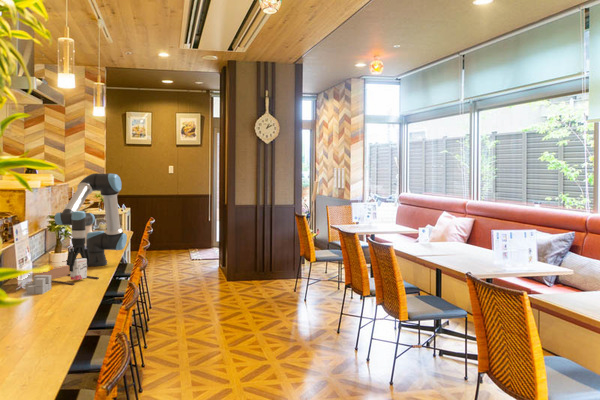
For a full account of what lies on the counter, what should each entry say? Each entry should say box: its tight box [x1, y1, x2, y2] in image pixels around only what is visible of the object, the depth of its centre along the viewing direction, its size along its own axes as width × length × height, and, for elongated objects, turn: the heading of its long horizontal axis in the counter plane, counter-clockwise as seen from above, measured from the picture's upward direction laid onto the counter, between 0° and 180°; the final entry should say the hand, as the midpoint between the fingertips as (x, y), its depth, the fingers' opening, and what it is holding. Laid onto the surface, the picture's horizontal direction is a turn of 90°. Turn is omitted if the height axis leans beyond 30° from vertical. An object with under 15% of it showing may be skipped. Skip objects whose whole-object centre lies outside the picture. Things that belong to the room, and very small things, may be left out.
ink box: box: [70, 257, 88, 281], centre depth 312 cm, size 9×5×12 cm, turn 162°
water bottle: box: [84, 223, 94, 245], centre depth 388 cm, size 10×9×28 cm
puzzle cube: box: [25, 274, 52, 295], centre depth 283 cm, size 12×12×8 cm
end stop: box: [39, 264, 70, 280], centre depth 319 cm, size 20×2×6 cm, turn 158°
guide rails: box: [51, 273, 100, 286], centre depth 315 cm, size 20×25×1 cm
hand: (78, 275), depth 312 cm, fingers closed on ink box, 9 cm apart
